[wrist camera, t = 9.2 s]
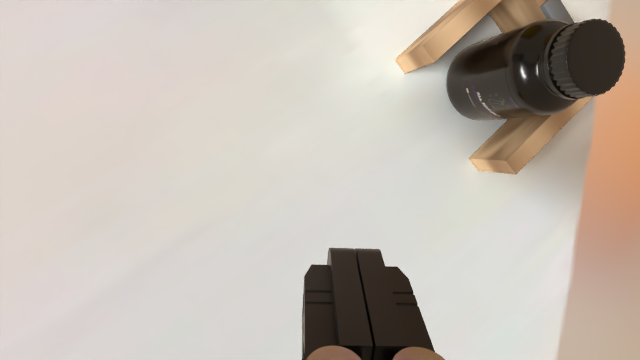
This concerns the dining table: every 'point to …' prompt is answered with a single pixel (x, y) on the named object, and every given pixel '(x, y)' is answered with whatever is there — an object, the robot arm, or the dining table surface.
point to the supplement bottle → (536, 69)
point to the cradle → (509, 13)
